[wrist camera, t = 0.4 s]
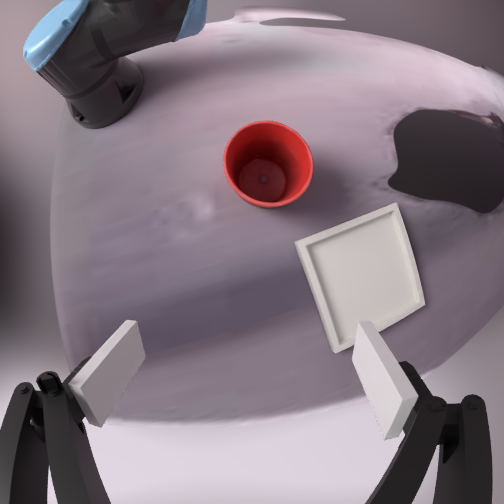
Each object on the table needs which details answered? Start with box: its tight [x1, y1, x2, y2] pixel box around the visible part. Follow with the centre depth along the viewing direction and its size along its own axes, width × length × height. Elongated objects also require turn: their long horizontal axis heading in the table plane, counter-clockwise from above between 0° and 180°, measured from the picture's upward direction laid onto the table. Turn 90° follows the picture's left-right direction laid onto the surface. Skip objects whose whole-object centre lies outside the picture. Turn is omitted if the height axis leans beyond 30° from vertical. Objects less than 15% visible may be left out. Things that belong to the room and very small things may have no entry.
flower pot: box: [223, 121, 313, 208], centre depth 35 cm, size 11×11×10 cm
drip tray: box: [294, 203, 425, 354], centre depth 39 cm, size 18×18×2 cm
